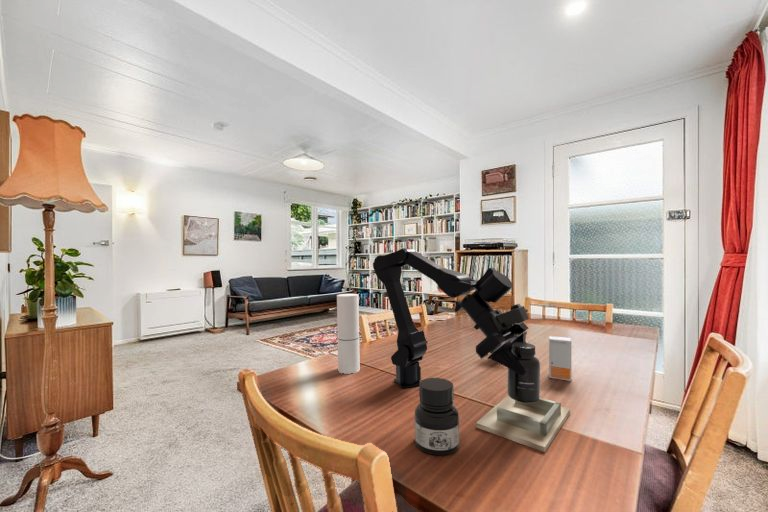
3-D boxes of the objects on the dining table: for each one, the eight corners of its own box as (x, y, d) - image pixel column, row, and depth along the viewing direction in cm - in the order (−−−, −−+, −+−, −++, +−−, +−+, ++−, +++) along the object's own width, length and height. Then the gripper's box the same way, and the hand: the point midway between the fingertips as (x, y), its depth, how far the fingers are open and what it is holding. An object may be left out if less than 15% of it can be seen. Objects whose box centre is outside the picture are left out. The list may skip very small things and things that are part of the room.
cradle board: (476, 427, 71) (475, 411, 71) (510, 396, 86) (510, 383, 86) (544, 452, 62) (544, 434, 62) (570, 413, 77) (569, 398, 77)
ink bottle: (411, 454, 62) (410, 392, 62) (414, 430, 71) (413, 374, 71) (463, 459, 61) (462, 394, 61) (460, 433, 69) (459, 376, 69)
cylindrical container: (361, 366, 112) (360, 293, 112) (357, 374, 105) (356, 296, 104) (340, 366, 112) (339, 293, 112) (335, 373, 105) (334, 296, 105)
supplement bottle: (524, 406, 70) (524, 351, 70) (500, 394, 76) (500, 343, 76) (547, 400, 73) (546, 346, 72) (522, 388, 79) (522, 339, 79)
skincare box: (549, 378, 98) (548, 338, 98) (549, 373, 102) (548, 335, 102) (572, 381, 96) (571, 341, 95) (571, 376, 99) (571, 337, 99)
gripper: (488, 298, 70) (544, 360, 63) (519, 289, 84) (568, 340, 76) (456, 329, 75) (503, 390, 68) (490, 316, 89) (532, 366, 82)
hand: (529, 369), depth 73 cm, fingers closed on supplement bottle, 7 cm apart
